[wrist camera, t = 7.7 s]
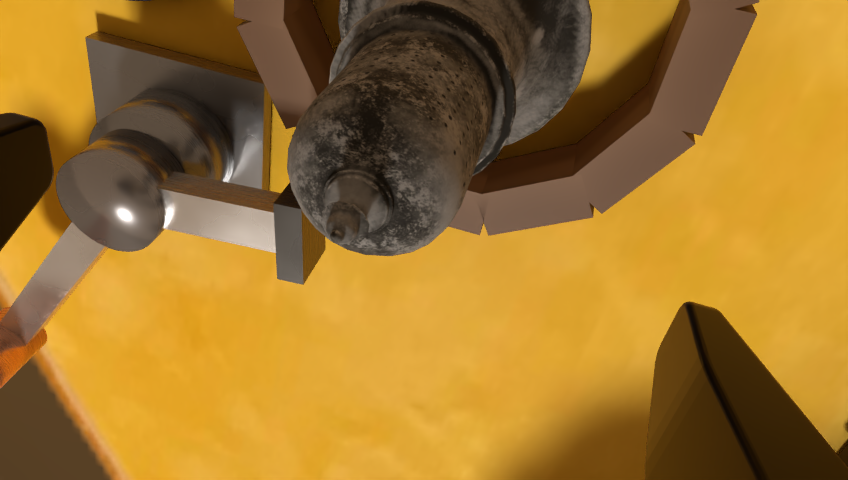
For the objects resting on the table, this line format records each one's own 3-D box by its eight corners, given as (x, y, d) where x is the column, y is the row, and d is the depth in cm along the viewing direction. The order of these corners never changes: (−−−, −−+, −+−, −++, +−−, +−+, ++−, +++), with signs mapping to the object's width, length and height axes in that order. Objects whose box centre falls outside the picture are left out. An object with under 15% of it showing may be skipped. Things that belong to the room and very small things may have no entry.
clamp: (366, 213, 20) (313, 304, 17) (135, 414, 29) (70, 500, 25) (169, 36, 18) (67, 97, 15) (-14, 306, 27) (-104, 383, 24)
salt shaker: (359, 52, 20) (122, 309, 11) (415, -166, 17) (136, -70, 7) (544, 125, 20) (470, 450, 11) (639, -78, 17) (652, 135, 7)
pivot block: (272, 77, 22) (236, 109, 20) (267, 230, 25) (236, 270, 23) (97, 31, 22) (44, 58, 20) (116, 187, 26) (73, 222, 24)
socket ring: (845, -240, 14) (872, -241, 13) (636, 240, 22) (637, 278, 20) (273, -353, 15) (233, -366, 14) (262, 139, 23) (234, 167, 21)
